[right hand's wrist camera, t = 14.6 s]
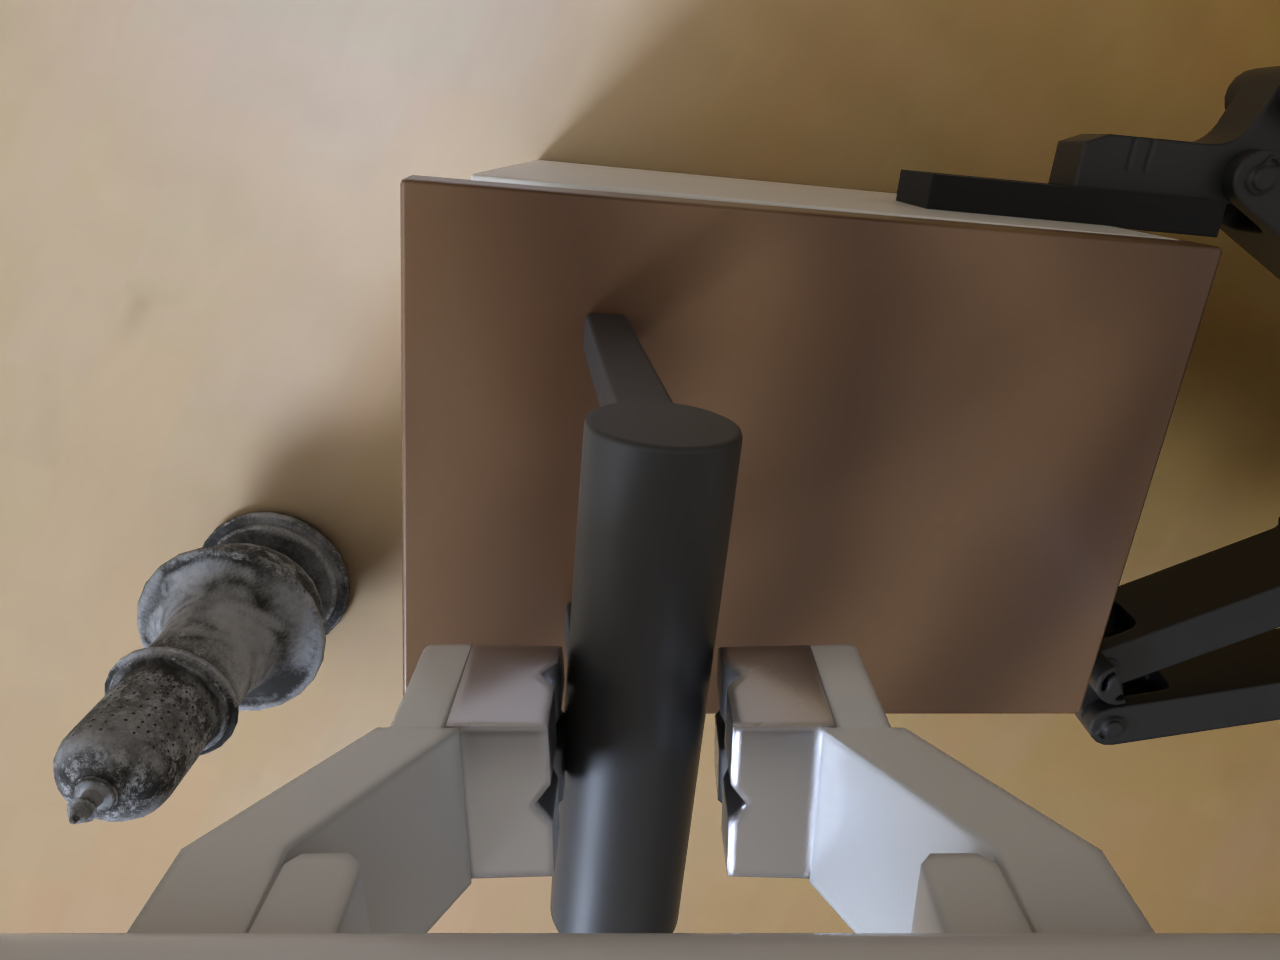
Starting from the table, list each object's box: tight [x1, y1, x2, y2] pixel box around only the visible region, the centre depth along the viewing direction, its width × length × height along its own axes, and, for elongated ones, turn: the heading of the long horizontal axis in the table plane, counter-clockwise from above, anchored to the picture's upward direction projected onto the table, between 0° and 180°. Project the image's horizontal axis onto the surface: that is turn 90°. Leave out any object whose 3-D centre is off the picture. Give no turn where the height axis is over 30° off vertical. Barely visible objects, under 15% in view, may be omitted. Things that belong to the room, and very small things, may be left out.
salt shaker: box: [54, 512, 350, 824], centre depth 26 cm, size 6×6×12 cm
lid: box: [400, 175, 1222, 933], centre depth 14 cm, size 14×10×8 cm
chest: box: [471, 160, 1179, 240], centre depth 24 cm, size 14×10×11 cm
